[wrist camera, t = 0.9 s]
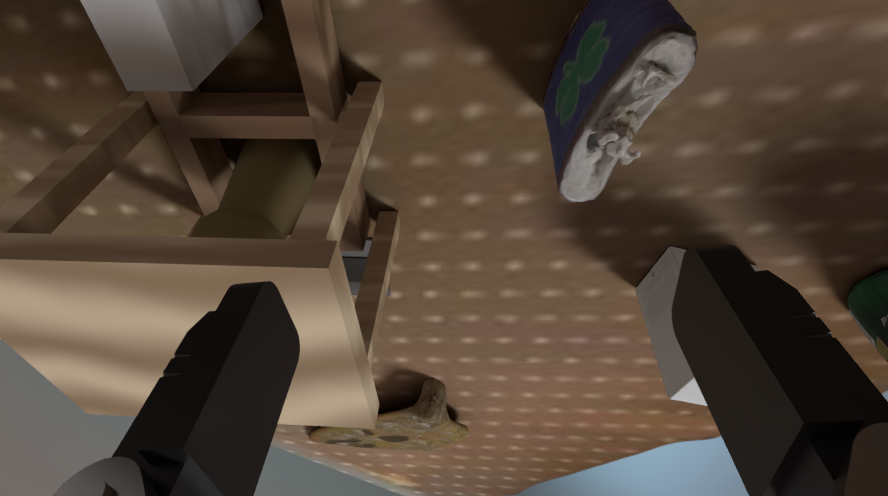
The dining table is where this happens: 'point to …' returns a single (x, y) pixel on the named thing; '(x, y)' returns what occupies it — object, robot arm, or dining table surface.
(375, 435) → the decorative stone
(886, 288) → the coffee jar
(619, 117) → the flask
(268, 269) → the wooden stool
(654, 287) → the small box
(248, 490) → the robot arm
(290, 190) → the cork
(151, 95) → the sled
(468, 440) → the dining table surface
